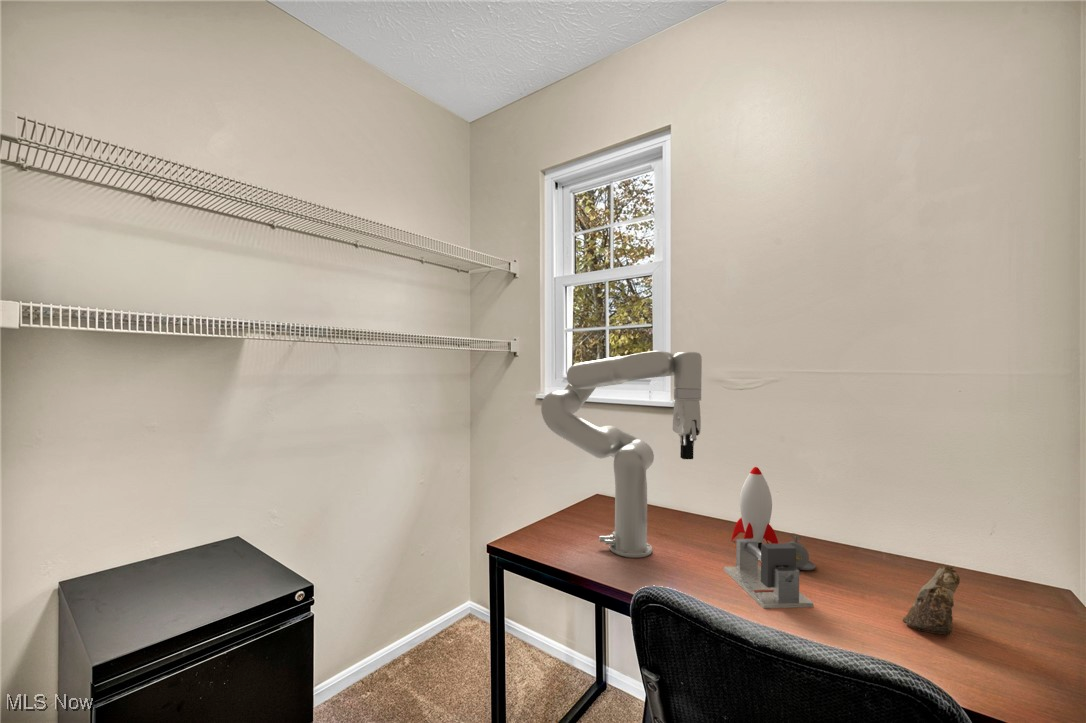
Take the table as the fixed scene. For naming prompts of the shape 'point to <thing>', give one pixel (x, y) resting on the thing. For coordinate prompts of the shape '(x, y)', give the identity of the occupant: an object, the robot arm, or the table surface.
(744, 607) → the table surface
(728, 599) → the table surface
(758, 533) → the rocket
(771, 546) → the collar
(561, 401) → the robot arm
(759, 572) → the machine vise
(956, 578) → the rock
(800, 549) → the pocket watch
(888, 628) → the table surface
